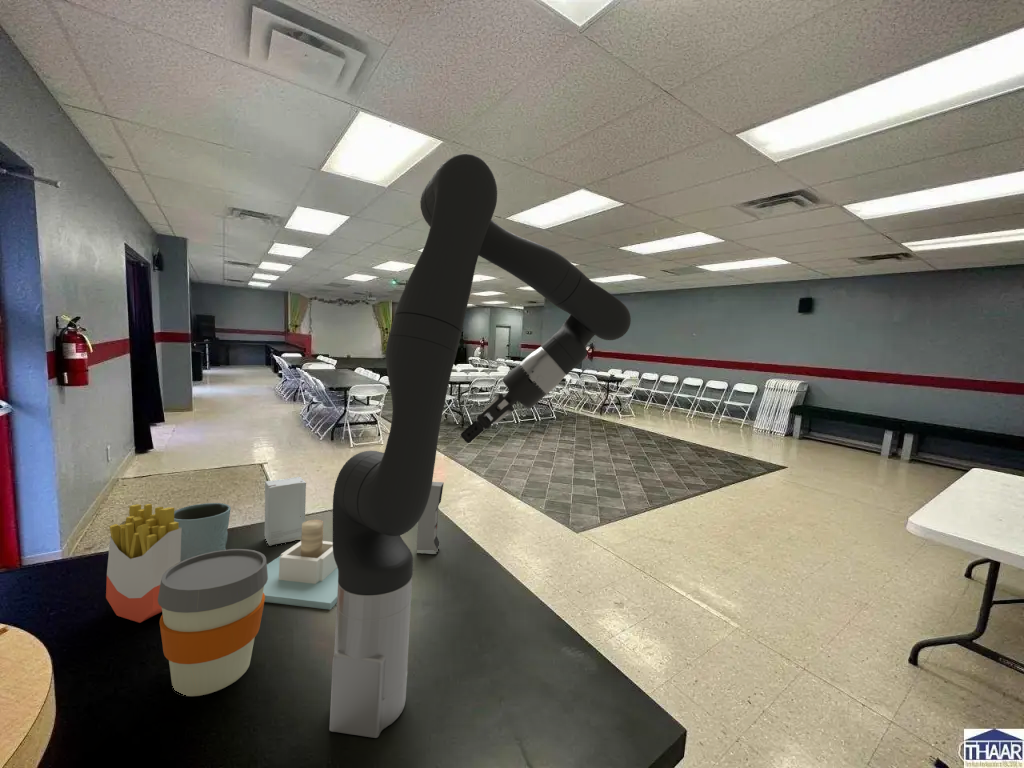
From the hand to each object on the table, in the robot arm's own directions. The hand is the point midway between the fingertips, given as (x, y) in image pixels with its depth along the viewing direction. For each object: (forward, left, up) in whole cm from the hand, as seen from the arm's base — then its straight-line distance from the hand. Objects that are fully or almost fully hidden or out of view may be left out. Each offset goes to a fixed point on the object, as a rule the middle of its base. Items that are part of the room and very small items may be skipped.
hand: (469, 435), depth 77 cm
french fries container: (-12, +53, -33) cm, 63 cm away
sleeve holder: (+5, +33, -33) cm, 46 cm away
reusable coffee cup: (-22, +31, -33) cm, 50 cm away
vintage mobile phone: (+22, +13, -33) cm, 41 cm away
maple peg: (+5, +32, -31) cm, 45 cm away
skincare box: (+20, +49, -33) cm, 62 cm away
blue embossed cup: (+4, +57, -33) cm, 66 cm away
